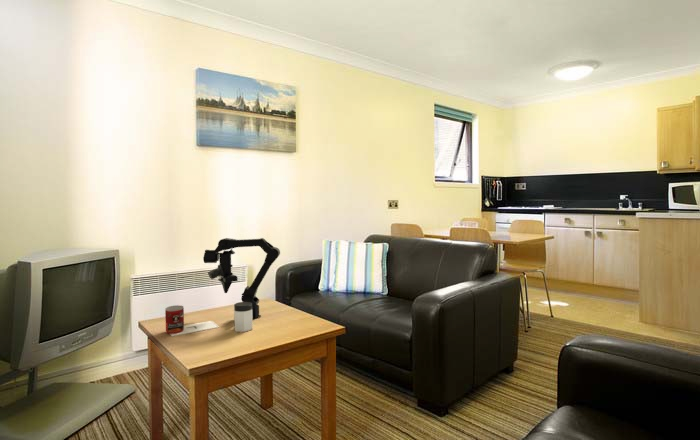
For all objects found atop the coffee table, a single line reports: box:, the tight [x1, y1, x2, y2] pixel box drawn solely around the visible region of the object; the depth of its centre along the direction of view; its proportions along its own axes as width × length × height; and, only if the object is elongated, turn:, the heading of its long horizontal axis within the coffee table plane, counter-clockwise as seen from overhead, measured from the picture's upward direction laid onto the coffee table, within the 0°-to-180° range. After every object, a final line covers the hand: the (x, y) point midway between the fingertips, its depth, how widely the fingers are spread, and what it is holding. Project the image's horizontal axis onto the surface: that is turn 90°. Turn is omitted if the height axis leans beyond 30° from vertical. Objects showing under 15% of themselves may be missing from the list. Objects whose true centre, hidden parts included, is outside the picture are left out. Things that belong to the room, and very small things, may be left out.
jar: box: [233, 301, 254, 333], centre depth 180 cm, size 9×8×12 cm
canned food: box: [164, 304, 185, 335], centre depth 176 cm, size 8×8×11 cm
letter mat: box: [169, 320, 220, 337], centre depth 181 cm, size 21×12×1 cm, turn 126°
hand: (225, 292), depth 198 cm, fingers closed
